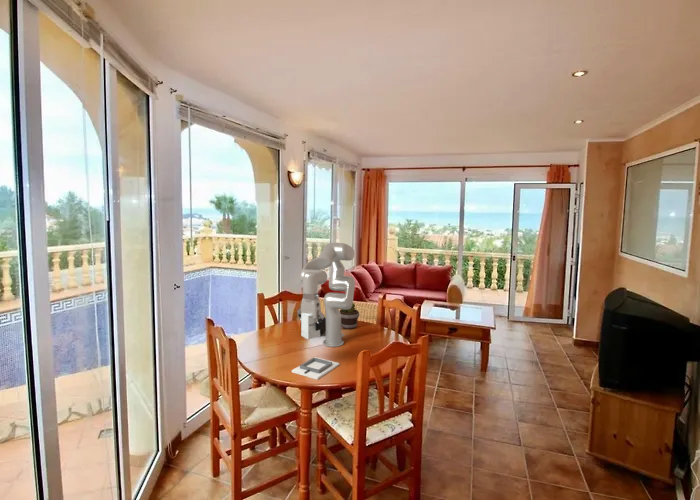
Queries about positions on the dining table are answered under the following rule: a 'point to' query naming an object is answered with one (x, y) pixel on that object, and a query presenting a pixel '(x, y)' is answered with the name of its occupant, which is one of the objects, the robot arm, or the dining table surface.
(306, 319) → the supplement box
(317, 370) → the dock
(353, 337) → the dining table surface
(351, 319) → the flowerpot
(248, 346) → the dining table surface
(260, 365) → the dining table surface
